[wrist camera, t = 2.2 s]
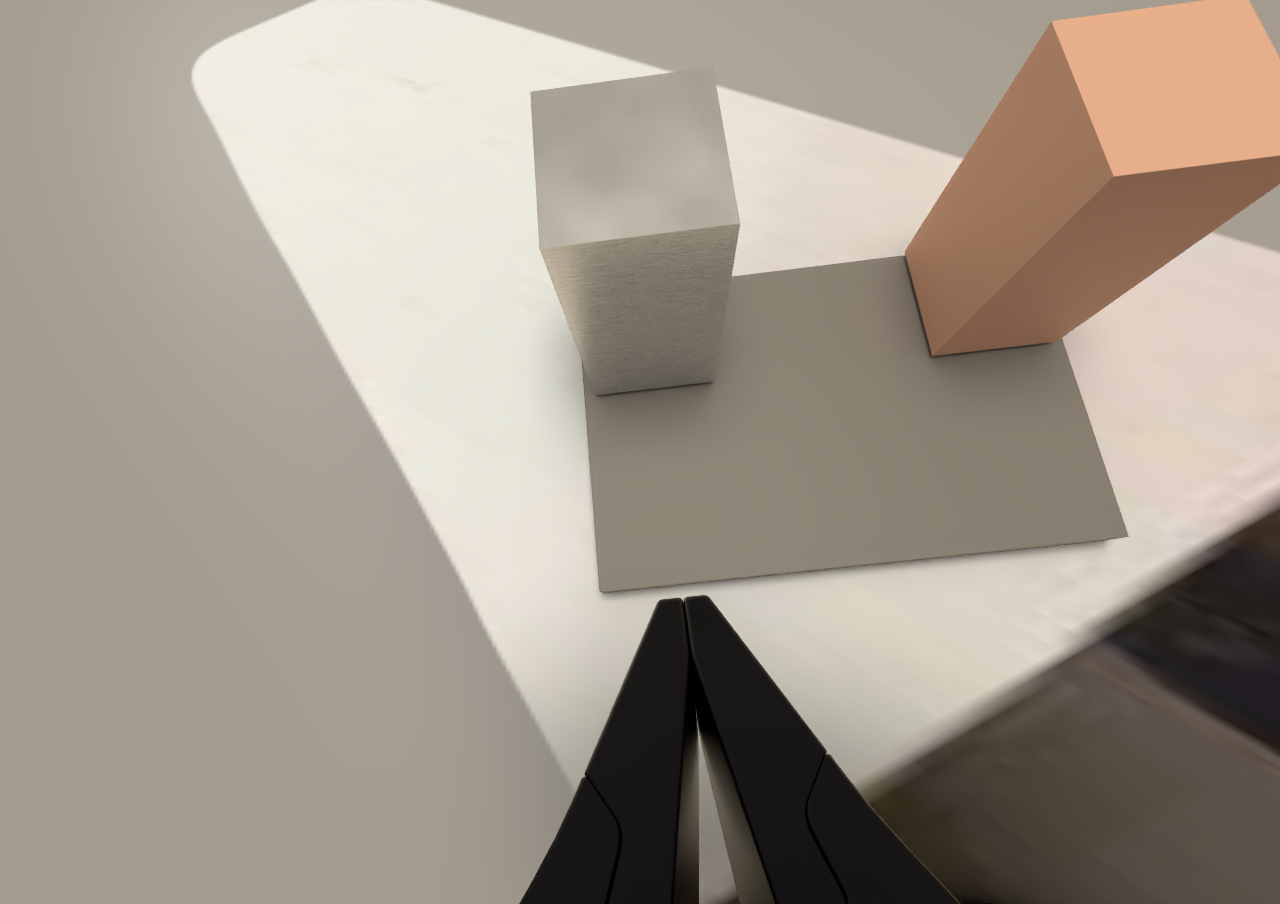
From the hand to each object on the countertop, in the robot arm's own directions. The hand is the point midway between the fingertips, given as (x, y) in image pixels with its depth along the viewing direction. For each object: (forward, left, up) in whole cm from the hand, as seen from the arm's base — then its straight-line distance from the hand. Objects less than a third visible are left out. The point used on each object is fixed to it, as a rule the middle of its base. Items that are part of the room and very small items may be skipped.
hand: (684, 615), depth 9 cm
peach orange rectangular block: (+12, -14, -12) cm, 22 cm away
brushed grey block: (+12, 0, -12) cm, 17 cm away
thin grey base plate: (+8, -7, -14) cm, 17 cm away
